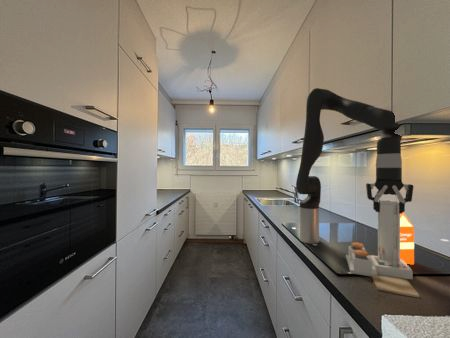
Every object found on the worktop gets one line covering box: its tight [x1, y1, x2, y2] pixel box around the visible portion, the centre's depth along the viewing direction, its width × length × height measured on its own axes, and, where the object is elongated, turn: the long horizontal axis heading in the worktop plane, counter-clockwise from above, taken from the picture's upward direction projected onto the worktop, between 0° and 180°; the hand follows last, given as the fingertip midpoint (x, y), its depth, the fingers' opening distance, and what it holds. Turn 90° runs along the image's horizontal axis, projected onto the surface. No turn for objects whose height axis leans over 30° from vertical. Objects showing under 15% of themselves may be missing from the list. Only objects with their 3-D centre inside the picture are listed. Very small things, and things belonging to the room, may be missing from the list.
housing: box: [345, 245, 414, 281], centre depth 82 cm, size 15×18×5 cm
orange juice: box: [400, 212, 415, 265], centre depth 89 cm, size 8×9×20 cm
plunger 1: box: [350, 241, 364, 250], centre depth 88 cm, size 4×4×5 cm
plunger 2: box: [354, 250, 369, 260], centre depth 80 cm, size 4×4×5 cm
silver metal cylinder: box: [377, 199, 400, 268], centre depth 80 cm, size 6×6×25 cm
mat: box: [370, 274, 420, 298], centre depth 70 cm, size 10×10×1 cm
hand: (388, 212), depth 80 cm, fingers closed on silver metal cylinder, 6 cm apart
